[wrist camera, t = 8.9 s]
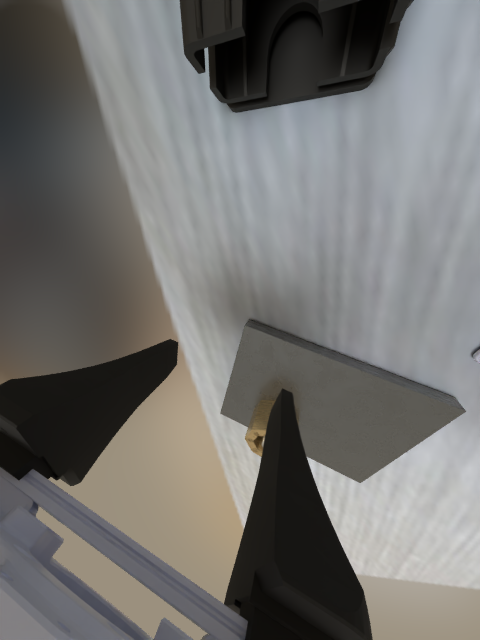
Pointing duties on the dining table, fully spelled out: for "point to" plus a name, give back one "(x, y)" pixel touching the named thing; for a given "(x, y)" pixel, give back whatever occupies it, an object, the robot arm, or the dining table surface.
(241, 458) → the dining table surface
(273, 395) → the shaft stand
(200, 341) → the dining table surface
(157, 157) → the dining table surface
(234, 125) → the dining table surface
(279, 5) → the end cap
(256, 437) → the bronze hub
